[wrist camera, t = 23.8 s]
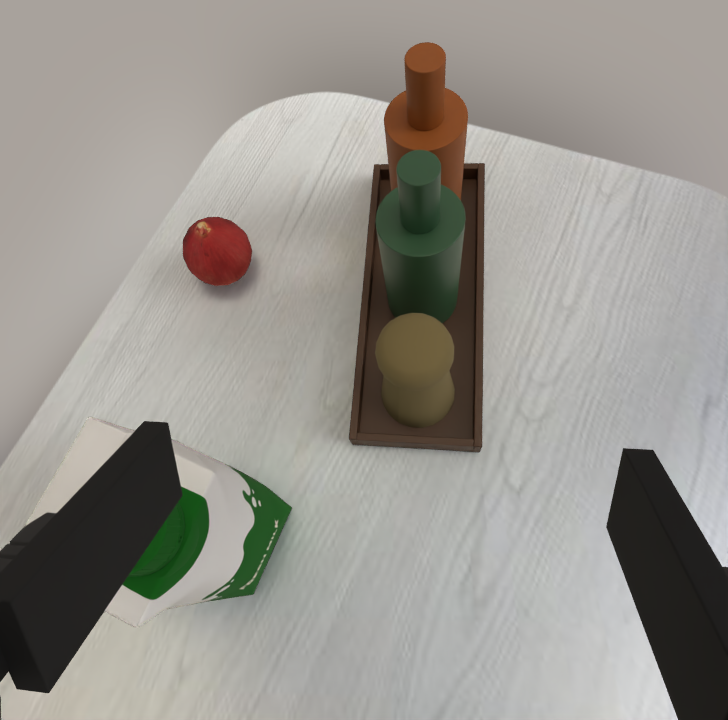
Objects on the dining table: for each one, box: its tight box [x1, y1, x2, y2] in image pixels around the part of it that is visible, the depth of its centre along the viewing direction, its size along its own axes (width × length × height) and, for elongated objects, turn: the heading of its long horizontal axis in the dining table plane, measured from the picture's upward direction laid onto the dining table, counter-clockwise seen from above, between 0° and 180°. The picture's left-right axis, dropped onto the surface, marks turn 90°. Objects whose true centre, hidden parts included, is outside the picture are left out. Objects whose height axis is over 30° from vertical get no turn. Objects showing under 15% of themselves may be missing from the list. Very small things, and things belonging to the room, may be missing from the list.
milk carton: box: [24, 417, 292, 627], centre depth 34 cm, size 9×9×20 cm
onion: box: [183, 217, 252, 286], centre depth 48 cm, size 6×6×8 cm
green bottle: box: [376, 150, 466, 323], centre depth 40 cm, size 6×6×17 cm
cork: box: [375, 313, 455, 428], centre depth 40 cm, size 6×6×11 cm
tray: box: [349, 163, 485, 452], centre depth 47 cm, size 10×26×2 cm, turn 175°
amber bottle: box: [384, 42, 468, 200], centre depth 42 cm, size 6×6×17 cm
